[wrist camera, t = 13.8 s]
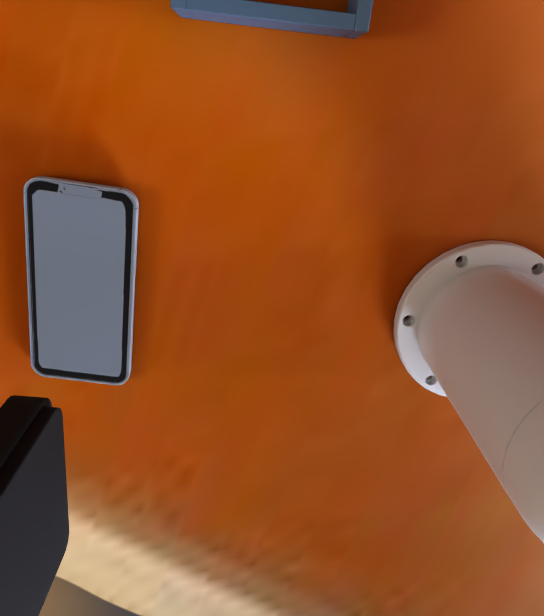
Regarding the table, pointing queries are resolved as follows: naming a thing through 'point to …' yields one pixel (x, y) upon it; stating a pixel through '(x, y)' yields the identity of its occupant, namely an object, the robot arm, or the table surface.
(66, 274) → the smartphone
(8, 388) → the table surface
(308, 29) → the rectangular frame
